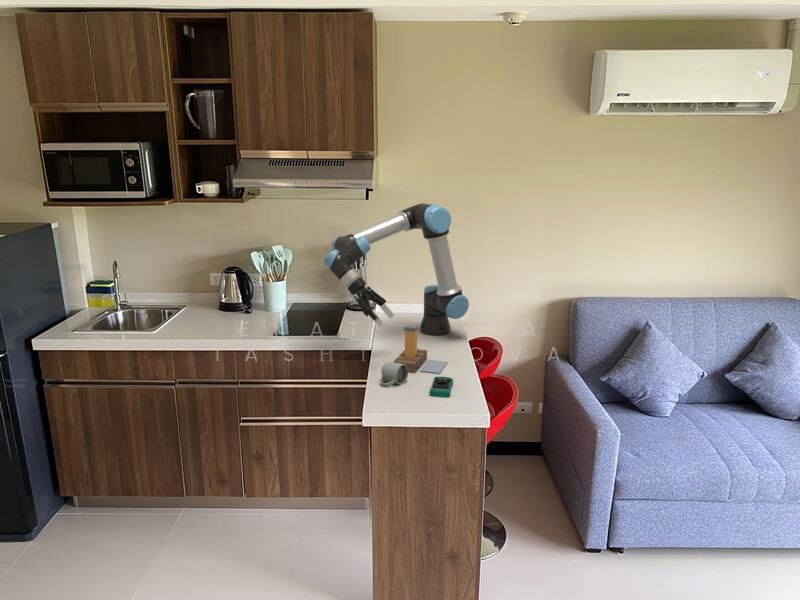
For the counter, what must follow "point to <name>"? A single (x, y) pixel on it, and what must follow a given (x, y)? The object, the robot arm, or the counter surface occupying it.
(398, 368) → the ceramic mug
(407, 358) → the wooden socket block
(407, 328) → the plug
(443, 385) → the digital multimeter
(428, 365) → the mat
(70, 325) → the counter surface
